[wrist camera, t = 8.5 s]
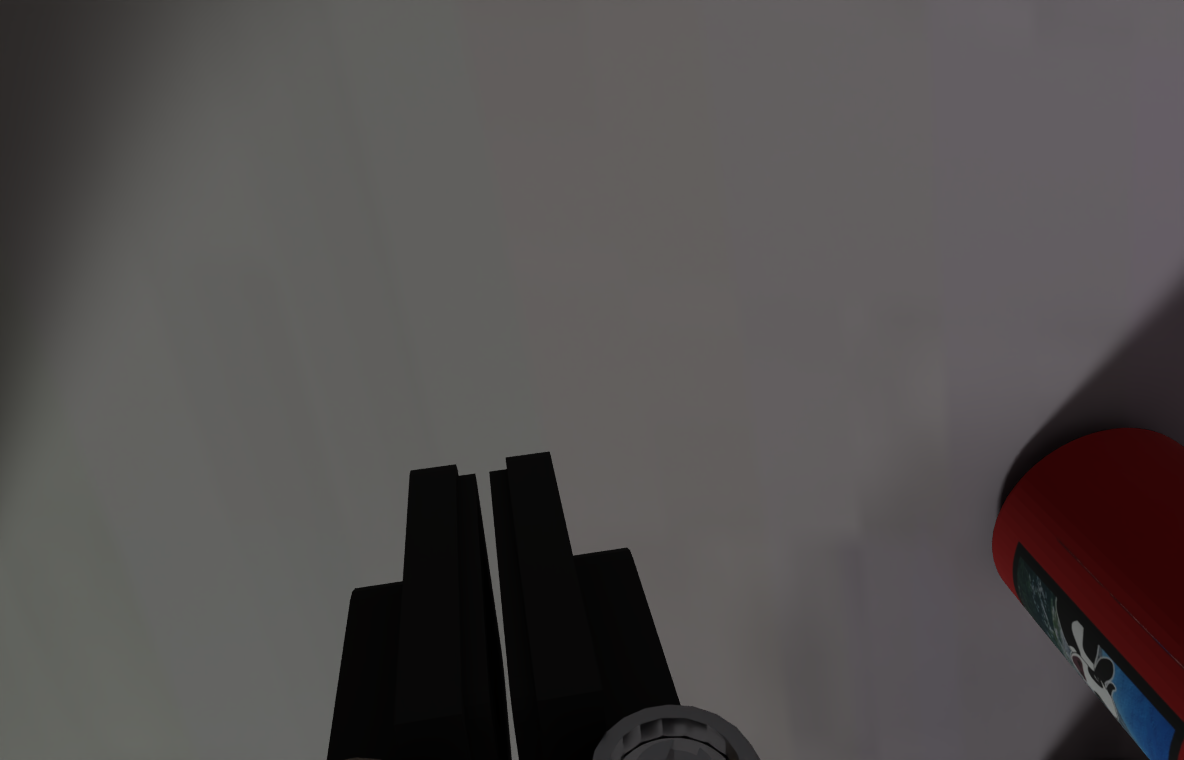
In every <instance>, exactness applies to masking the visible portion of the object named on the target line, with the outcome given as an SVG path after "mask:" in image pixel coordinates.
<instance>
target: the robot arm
mask: <svg viewBox="0 0 1184 760" xmlns="http://www.w3.org/2000/svg"><path fill="white" fill-rule="evenodd" d="M506 465H507V469H505V470H498V471H491V472H489V473H490V484H491V495H492V506H493V517H494V527H495V538H496V549H497V560H498V570H499V581H500V592H501V602H502V613H503V624H504V635H505V645H506V656H507V667H508V677H509V687H510V696H511V705H512V713H513V721H514V728H515V735H516V742H517V749H518V756H519V760H760V758H759V757H758V755H757V753H756V752H755V750H754V748H753V747H752V745H751V744H750V743H749V741H748V740H747V739H746V738H745V737H744V736H743V734H742V733H741V732H740V731H739V730H738V728H737V727H735V726H734V725H732V724H731V723H729V722H728V721H726V720H725V719H723V718H722V717H720V716H719V715H717V714H715V713H712V712H709V711H706V710H703V709H699V708H696V707H693V706H681V705H680V702H679V699H678V696H677V693H676V689H675V686H674V683H673V680H672V677H671V674H670V671H669V668H668V665H667V662H666V659H665V656H664V652H663V649H662V646H661V643H660V640H659V637H658V634H657V631H656V628H655V625H654V622H653V618H652V615H651V612H650V609H649V606H648V603H647V600H646V597H645V594H644V591H643V588H642V585H641V581H640V578H639V575H638V572H637V569H636V566H635V563H634V560H633V557H632V554H631V552H630V550H629V549H628V548H621V549H615V550H608V551H601V552H595V553H588V554H581V555H575V556H573V554H572V549H571V545H570V540H569V536H568V531H567V527H566V522H565V518H564V513H563V509H562V504H561V500H560V495H559V491H558V486H557V482H556V477H555V473H554V468H553V464H552V459H551V455H550V452H543V453H535V454H528V455H521V456H513V457H506ZM327 760H512V757H511V746H510V734H509V723H508V712H507V700H506V689H505V677H504V668H503V659H502V651H501V644H500V637H499V630H498V623H497V617H496V610H495V603H494V596H493V589H492V583H491V576H490V569H489V562H488V555H487V549H486V542H485V535H484V528H483V521H482V515H481V508H480V501H479V494H478V487H477V481H476V475H475V474H469V475H462V476H459V475H458V470H457V466H456V464H455V465H448V466H440V467H433V468H426V469H418V470H411V471H410V478H409V494H408V509H407V525H406V540H405V555H404V571H403V581H401V582H395V583H388V584H381V585H375V586H368V587H361V588H355V589H354V590H353V592H352V595H351V599H350V605H349V612H348V619H347V626H346V632H345V639H344V646H343V653H342V660H341V667H340V673H339V680H338V687H337V694H336V701H335V707H334V714H333V721H332V728H331V735H330V742H329V748H328V755H327Z"/></svg>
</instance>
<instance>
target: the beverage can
mask: <svg viewBox="0 0 1184 760" xmlns="http://www.w3.org/2000/svg"><path fill="white" fill-rule="evenodd" d="M992 552H993V558H994V562H995V565H996V568H997V571H998V573H999V575H1000V576H1001V578H1002V580H1003V581H1004V582H1005V584H1006V585H1007V586H1008V587H1009V589H1010V590H1011V591H1012V592H1013V594H1014V595H1015V596H1016V597H1017V599H1018V600H1019V601H1020V602H1021V604H1022V605H1023V606H1024V607H1025V609H1026V610H1027V611H1028V612H1029V613H1030V615H1031V616H1032V617H1033V618H1034V620H1035V621H1036V622H1037V623H1038V625H1039V626H1040V627H1041V628H1042V630H1043V631H1044V632H1045V633H1046V635H1047V636H1048V637H1049V638H1050V639H1051V641H1052V642H1053V643H1054V644H1055V646H1056V647H1057V648H1058V649H1059V650H1060V652H1061V653H1062V654H1063V655H1064V657H1065V658H1066V659H1067V660H1068V661H1069V663H1070V664H1071V665H1072V666H1073V668H1074V669H1075V670H1076V671H1077V672H1078V674H1079V675H1080V676H1081V677H1082V679H1083V680H1084V681H1085V682H1086V683H1087V685H1088V686H1089V687H1090V688H1091V690H1092V691H1093V692H1094V693H1095V694H1096V696H1097V697H1098V698H1099V699H1100V700H1101V702H1102V703H1103V704H1104V705H1105V706H1106V708H1107V709H1108V710H1109V711H1110V712H1111V714H1112V715H1113V716H1114V717H1115V718H1116V720H1117V721H1118V722H1119V723H1120V724H1121V726H1122V727H1123V728H1124V729H1125V730H1126V732H1127V733H1128V734H1129V735H1130V736H1131V738H1132V739H1133V740H1134V741H1135V742H1136V744H1137V745H1138V746H1139V747H1140V748H1141V750H1142V751H1143V752H1144V753H1145V754H1146V756H1147V757H1148V758H1149V759H1150V760H1184V447H1183V446H1182V445H1180V444H1179V443H1177V442H1176V441H1174V440H1173V439H1171V438H1169V437H1167V436H1165V435H1163V434H1160V433H1158V432H1155V431H1151V430H1146V429H1140V428H1116V429H1109V430H1104V431H1099V432H1095V433H1092V434H1089V435H1086V436H1083V437H1080V438H1078V439H1075V440H1073V441H1071V442H1069V443H1067V444H1065V445H1063V446H1061V447H1059V448H1058V449H1056V450H1054V451H1053V452H1051V453H1050V454H1048V455H1047V456H1045V457H1044V458H1043V459H1042V460H1040V461H1039V462H1038V463H1037V464H1035V465H1034V466H1033V467H1032V468H1031V469H1030V470H1029V471H1028V472H1027V473H1026V474H1025V475H1024V476H1023V477H1022V478H1021V479H1020V480H1019V482H1018V483H1017V484H1016V485H1015V487H1014V488H1013V489H1012V491H1011V492H1010V494H1009V495H1008V497H1007V498H1006V500H1005V502H1004V504H1003V505H1002V508H1001V510H1000V512H999V514H998V517H997V520H996V523H995V527H994V531H993V538H992Z"/></svg>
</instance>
